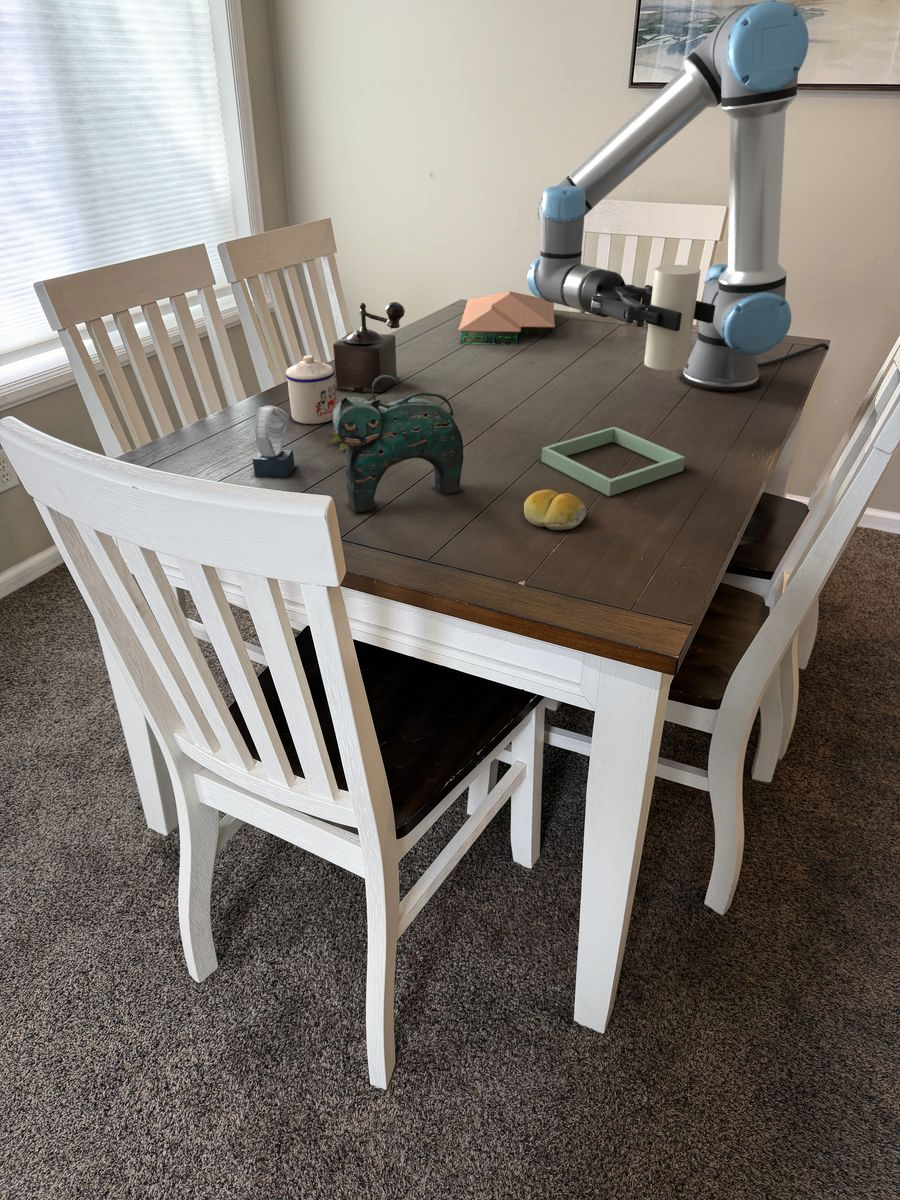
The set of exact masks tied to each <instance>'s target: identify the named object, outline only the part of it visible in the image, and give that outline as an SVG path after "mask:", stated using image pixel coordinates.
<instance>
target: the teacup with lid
mask: <svg viewBox="0 0 900 1200" xmlns="http://www.w3.org/2000/svg"><path fill="white" fill-rule="evenodd" d="M334 369H335V368H334V367H333V366H331V365H330V364H329V363H325V362H321V361H318V360H315V357H314V355H311V354H308V355H304V356H303V358H302V361H299V362H298V363H297V364H294V365H292V366H290V367H288V368H287V369H286V371H285V378H286V380H287V388H288V396H289V404H290V405H289V406H290V412H291V413H290V414H291V418H292V419H293V421H294V422H296V423H299V424H304V425H320V424H325V423H328V422H330V421H333V412H334V409H335V407H336V405H337V398H336V388H335V376H334V375H336V371H335V370H334Z"/></svg>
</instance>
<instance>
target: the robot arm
mask: <svg viewBox="0 0 900 1200" xmlns="http://www.w3.org/2000/svg"><path fill="white" fill-rule="evenodd" d="M809 37H810V36H809V30H808V26H807V23H806V21H805V17H803V15H802V14H801V13H800V12H799V11H798V9H796V7H794V6H792V5H791V4H789V3H786V2H783V1H780V0H763V1H760V2H757V3H753V4H747V5H743V6H741V7H739V8H737V9H735V10H734V11H732V12H731V13H730V14H728V15H727V16H725V18H723V20H722V21H721V22H720V23H719V24H718V25H717V26H716V27H715V28H714V29H713V31H712V32H711V33H710V34H709V35H708V36H707V37H706V38H705V39H704V40H703V41H702V42H701V44H700V45H698V47H696V48H695V49H694V50H693V51H692V52H691V53H690V54H689V55H688V56H687V57H686V58H685V59H684V62H683V64H682V65H683V66H682V69H681V71H680V72H679V73H678V74H676V75H675V76H674V77H673V78H672V79H671V80H670V81H669V82H668V83H666V85H665V86H664V87H662V88H661V89H660V90H659V91H658V92H657V93H656V94H655V95H653V97H651V98H650V99H649V100H648V101H647V102H646V103H645V104H644V105H642V107H641V108H640V109H638V110H637V111H636V112H635V113H633V115H632V116H630V118H628V120H627V121H625V122H624V123H623V124H622V125H621V126H620V127H619V128H618V129H617V130H615V132H613V133H612V134H611V135H610V136H609V137H608V138H607V139H606V140H605V141H604V142H602V143H601V144H600V145H599V146H598V147H597V148H596V149H595V150H594V151H593V152H592V153H590V154H589V155H588V156H587V157H586V158H585V159H584V160H583V161H582V162H581V163H580V164H579V165H578V166H577V167H575V169H573V170H572V171H571V172H570V173H569V174H568V175H567V176H566V177H565V178H563V179H562V180H561V182H559V183H558V184H557V185H553V186H549V187H547V188H545V190H544V191H543V195H542V197H541V198H540V201H539V202H538V207H537V217H538V220H539V222H540V227H541V230H540V251H539V252H540V253H539V257H537V258H535V259H534V260H533V261H532V263H531V264H530V266H529V267H530V268H529V270H528V272H527V275H526V282H527V287H528V289H529V292H531V294H532V295H534V297H539V298H542V299H544V300H546V301H548V302H551V303H552V302H553V303H554V304H557V305H561V306H564V307H569V308H572V309H575V310H578V311H579V313H580V314H585V313H588V314H590V315H594V316H597V317H601V318H608V317H609V318H611V319H612V318H613V319H615V320H617V321H621V322H623V323H625V324H628V325H629V324H633V323H634V321H635V322H636V325H635V326H636V327H637V328H643V327H644V326H645V323H646V324H652V325H655V326H659V327H662V328H666V329H669V330H673V331H680V323H681V316H682V313H680V312H677V311H673V310H669V309H665V308H662V307H658V306H654V305H651V298H652V290H653V285H651V284H645V285H644V287H638V286H636V285H635V284H626V282H625V279H624V278H623V276H622V275H621V274H620V273H618V272H617V271H613V270H612V271H611V270H608V269H603V268H600V267H596V266H592V265H587V264H582V256H583V241H584V240H583V239H584V238H583V237H584V230H585V229H584V227H585V217H586V215H588V214H589V212H591V210H593V209H594V208H595V207H597V205H598V204H599V203H600V202H601V201H603V200H604V199H605V198H606V197H608V195H609V194H611V193H612V192H613V191H614V190H615V189H616V188H618V187H619V186H620V185H621V184H622V183H623V182H624V181H626V179H628V178H629V177H630V176H631V175H632V174H633V173H635V172H636V171H637V170H638V169H639V168H640V167H641V166H643V164H645V163H646V162H647V161H648V160H649V159H650V158H651V157H653V155H655V154H656V153H657V152H658V151H659V150H660V149H662V148H663V147H664V146H665V145H666V144H667V143H669V142H670V141H671V140H672V139H673V138H674V137H675V136H676V135H678V134H679V133H680V132H681V131H682V130H683V129H685V127H686V126H687V125H689V124H690V123H691V122H692V121H693V120H695V118H697V117H698V116H699V115H700V114H701V113H703V112H704V111H705V110H706V109H707V108H717V107H718V106H719V105H720V107H721V108H720V109H721V110H722V111H723V112H724V113H725V114H726V115H727V116H728V117H729V119H730V127H729V128H730V131H729V132H730V133H729V134H730V135H729V178H728V179H729V181H728V182H729V183H728V225H727V226H728V227H727V228H728V230H727V263H723V264H713V265H711V266H710V267H708V270H707V273H706V278H705V280H704V289H703V297H702V301H700V300H696V306H695V313H694V320H695V321H699V322H698V323H699V324H698V331H697V336H696V337H697V338H696V342H695V344H694V346H693V348H692V350H691V352H690V354H689V355H688V362H687V366H686V367H685V368H683V369H682V370H683V371H682V380H683V381H684V382H685V383H686V384H689V385H690V386H693V387H695V388H698V389H703V390H707V391H713V392H714V391H715V392H741V391H746V390H751V389H753V388H755V387H756V386H757V385H758V382H759V377H760V371H759V368H764V367H769V366H773V365H775V364H779V363H782V362H784V361H788V360H791V359H794V358H796V357H798V356H801V355H804V354H807V353H811V352H813V351H816V350H818V349H819V348H824V350H830V347H829V345H828V344H827V343H824V342H823V343H822V342H821V343H818V344H816V345H813V346H811V347H807V348H804V349H801V350H799V351H796V352H794V353H791V354H787V355H785V356H781V357H780V358H775V359H772V360H768V361H765V362H759V363H758V356H757V355H762V354H765V353H767V352H770V351H771V350H773V349H775V348H776V347H777V346H778V345H779V344H780V343H781V342H782V341H783V340H784V339H785V338H786V336H787V335H788V333H789V330H790V328H791V324H792V311H791V307H790V304H789V302H788V300H786V289H787V270H786V269H784V267H783V266H781V265H780V262H779V254H780V250H779V249H780V234H781V233H780V232H781V231H780V230H781V216H782V215H781V213H782V193H783V173H784V156H785V155H784V154H785V134H786V118H787V117H786V114H787V109H788V108H789V107H790V105H791V104H792V103H793V102H794V101H795V100H796V98H797V97H798V80H799V79H798V78H799V72H800V70H801V69H802V66H803V64H804V62H805V60H806V57H807V55H808V49H809V40H810V38H809Z"/></svg>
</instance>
